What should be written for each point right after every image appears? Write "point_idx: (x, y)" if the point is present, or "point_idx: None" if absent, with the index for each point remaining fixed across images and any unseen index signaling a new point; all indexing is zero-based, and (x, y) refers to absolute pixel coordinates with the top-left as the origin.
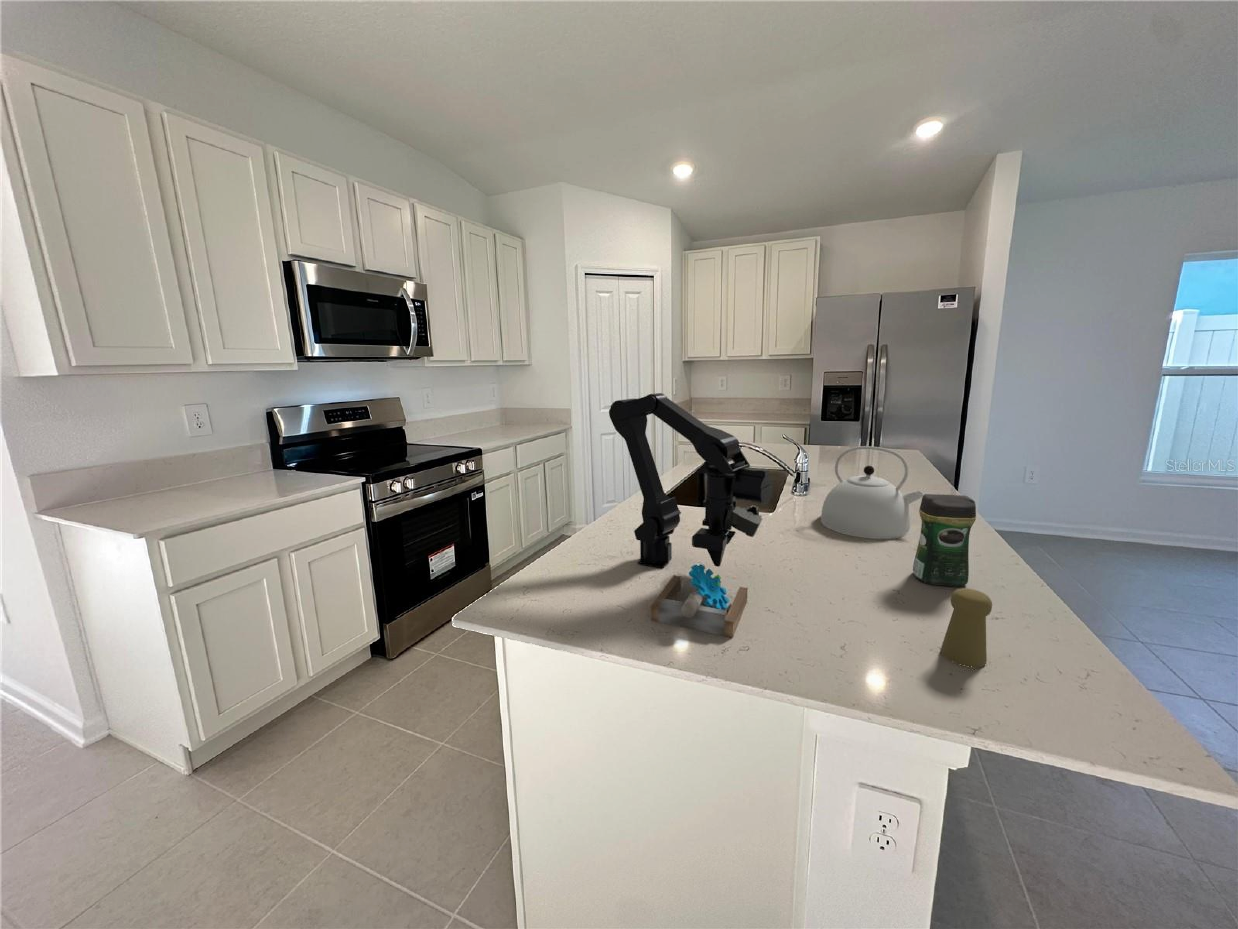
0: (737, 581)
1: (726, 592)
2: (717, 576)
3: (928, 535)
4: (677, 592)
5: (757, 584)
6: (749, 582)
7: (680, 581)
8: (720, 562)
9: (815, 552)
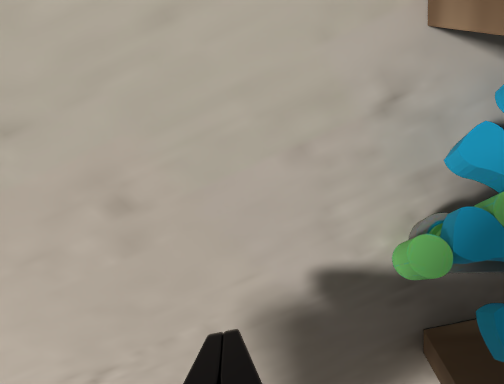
0: (147, 166)
1: (477, 127)
2: (448, 266)
3: None
4: None
5: (79, 19)
6: (97, 90)
7: (458, 372)
8: (240, 356)
9: None
